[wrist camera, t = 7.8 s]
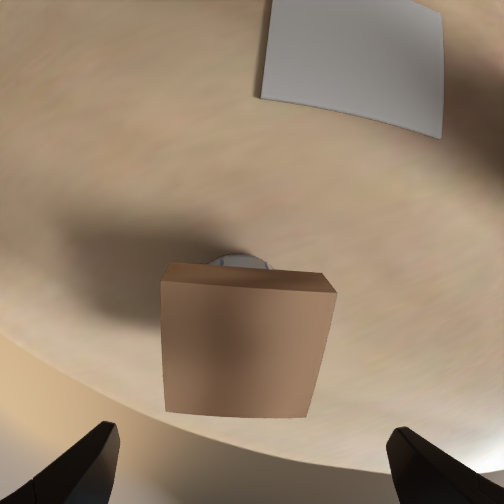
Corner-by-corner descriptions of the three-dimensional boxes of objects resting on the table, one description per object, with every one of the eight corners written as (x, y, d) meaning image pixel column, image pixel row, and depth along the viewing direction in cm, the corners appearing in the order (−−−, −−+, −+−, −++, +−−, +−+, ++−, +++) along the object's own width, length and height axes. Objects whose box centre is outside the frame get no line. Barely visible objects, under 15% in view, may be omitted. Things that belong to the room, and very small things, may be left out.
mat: (438, 15, 15) (441, 14, 15) (437, 139, 18) (441, 139, 17) (276, -34, 14) (277, -37, 13) (260, 98, 17) (261, 97, 16)
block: (322, 273, 15) (337, 293, 13) (297, 388, 17) (306, 417, 14) (171, 261, 14) (160, 280, 12) (172, 382, 16) (165, 411, 14)
